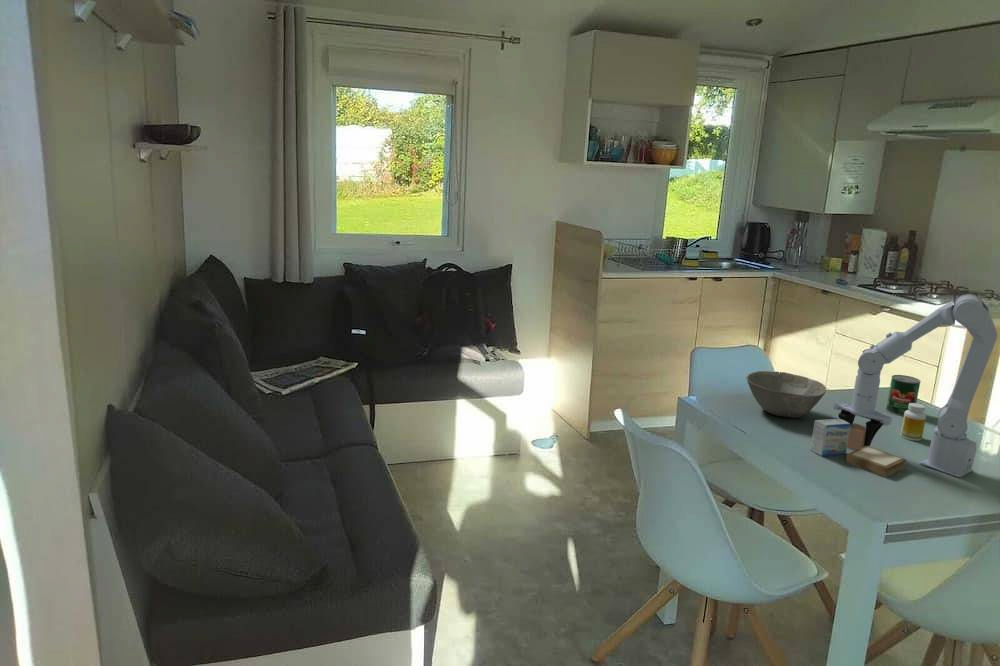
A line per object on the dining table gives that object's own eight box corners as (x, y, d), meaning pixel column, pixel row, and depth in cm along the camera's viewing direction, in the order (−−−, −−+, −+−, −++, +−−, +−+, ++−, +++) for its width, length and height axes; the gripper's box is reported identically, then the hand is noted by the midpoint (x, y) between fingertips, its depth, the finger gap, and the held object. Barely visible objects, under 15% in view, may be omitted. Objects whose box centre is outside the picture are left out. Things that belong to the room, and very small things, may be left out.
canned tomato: (907, 408, 225) (913, 375, 222) (918, 417, 218) (925, 383, 215) (881, 406, 226) (887, 373, 223) (891, 415, 218) (898, 381, 216)
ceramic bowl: (798, 433, 200) (803, 399, 198) (727, 408, 217) (731, 377, 215) (836, 417, 214) (841, 386, 212) (766, 396, 231) (771, 366, 229)
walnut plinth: (904, 468, 180) (906, 458, 179) (885, 477, 174) (887, 467, 173) (865, 454, 187) (866, 445, 187) (845, 462, 181) (847, 453, 181)
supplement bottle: (924, 442, 198) (931, 409, 195) (903, 440, 199) (909, 407, 196) (917, 435, 203) (924, 403, 200) (897, 433, 204) (903, 401, 201)
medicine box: (820, 456, 184) (826, 425, 182) (809, 449, 189) (814, 419, 187) (846, 454, 187) (851, 423, 184) (834, 448, 191) (839, 417, 189)
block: (869, 448, 192) (873, 429, 190) (860, 452, 189) (863, 432, 187) (851, 441, 196) (854, 423, 194) (842, 445, 193) (845, 426, 191)
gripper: (900, 399, 185) (891, 448, 189) (846, 384, 196) (838, 430, 200) (887, 404, 181) (878, 453, 184) (833, 388, 192) (825, 435, 196)
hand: (856, 441), depth 192 cm, fingers closed on block, 5 cm apart
